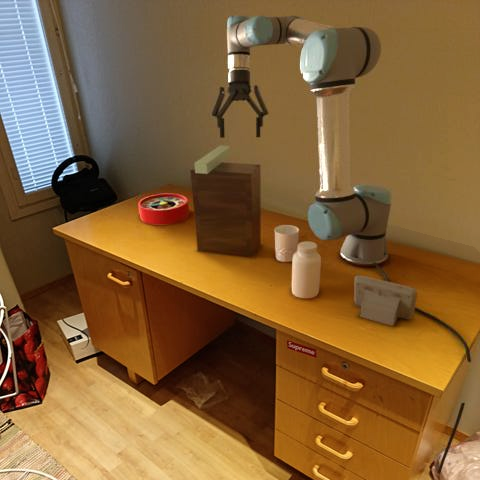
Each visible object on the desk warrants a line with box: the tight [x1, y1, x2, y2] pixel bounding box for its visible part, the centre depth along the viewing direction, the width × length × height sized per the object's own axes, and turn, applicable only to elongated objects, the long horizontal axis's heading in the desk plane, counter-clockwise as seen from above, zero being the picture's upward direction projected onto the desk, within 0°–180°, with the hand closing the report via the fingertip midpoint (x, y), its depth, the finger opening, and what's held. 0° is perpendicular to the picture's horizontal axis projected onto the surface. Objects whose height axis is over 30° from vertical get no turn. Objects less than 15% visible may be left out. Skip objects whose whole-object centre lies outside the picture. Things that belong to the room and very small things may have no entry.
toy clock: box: [137, 192, 190, 226], centre depth 183 cm, size 20×6×20 cm
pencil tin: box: [194, 145, 232, 174], centre depth 144 cm, size 22×4×3 cm, turn 162°
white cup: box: [274, 224, 300, 263], centre depth 147 cm, size 8×8×10 cm
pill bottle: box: [291, 240, 322, 299], centre depth 127 cm, size 8×8×15 cm
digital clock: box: [353, 274, 418, 327], centre depth 117 cm, size 16×9×11 cm, turn 47°
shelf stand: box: [189, 161, 262, 259], centre depth 149 cm, size 10×20×28 cm, turn 72°
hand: (240, 137), depth 161 cm, fingers open, 13 cm apart
